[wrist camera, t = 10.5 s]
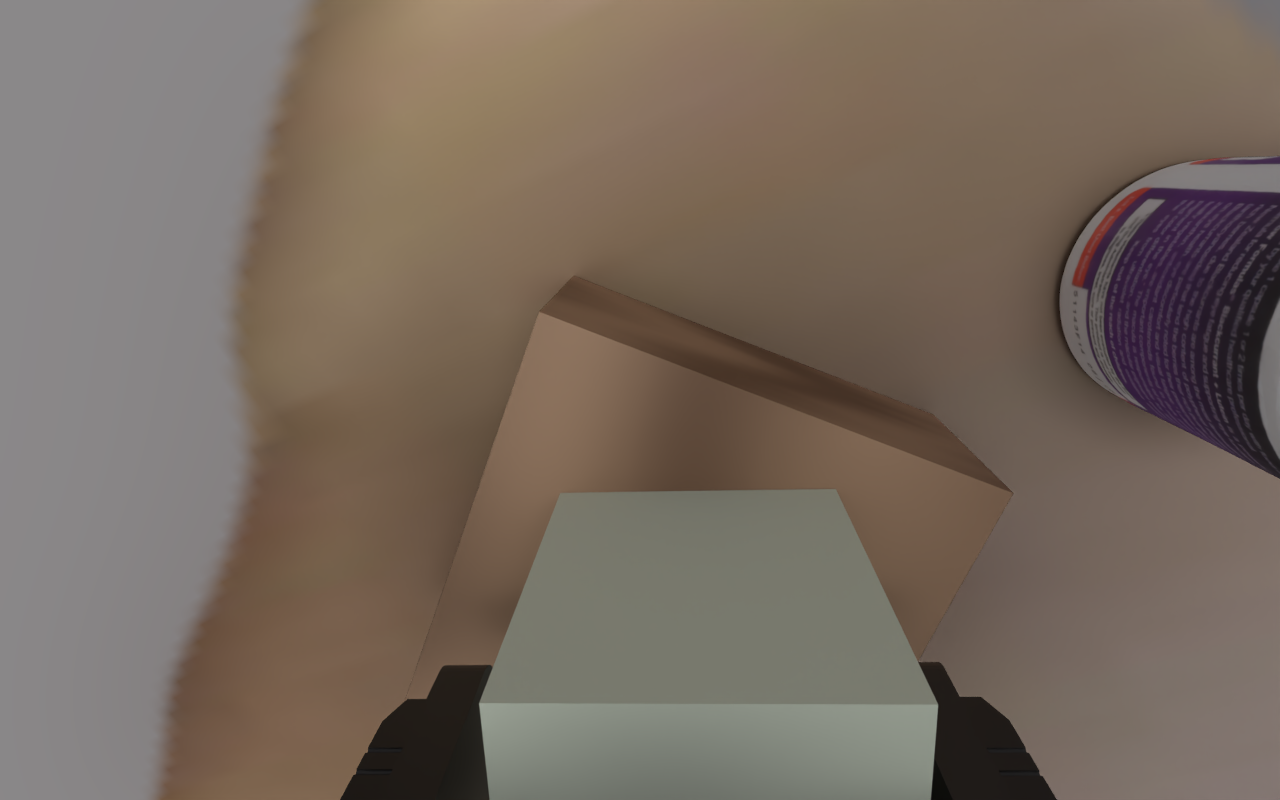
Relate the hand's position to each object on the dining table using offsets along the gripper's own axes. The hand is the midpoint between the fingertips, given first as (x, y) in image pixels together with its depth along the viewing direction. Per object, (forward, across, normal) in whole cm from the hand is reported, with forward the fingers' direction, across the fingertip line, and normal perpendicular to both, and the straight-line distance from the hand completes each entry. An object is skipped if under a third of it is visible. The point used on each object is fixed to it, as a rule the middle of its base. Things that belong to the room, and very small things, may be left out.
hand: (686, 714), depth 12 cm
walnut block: (+8, 0, 0) cm, 8 cm away
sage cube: (+3, 0, 0) cm, 3 cm away
